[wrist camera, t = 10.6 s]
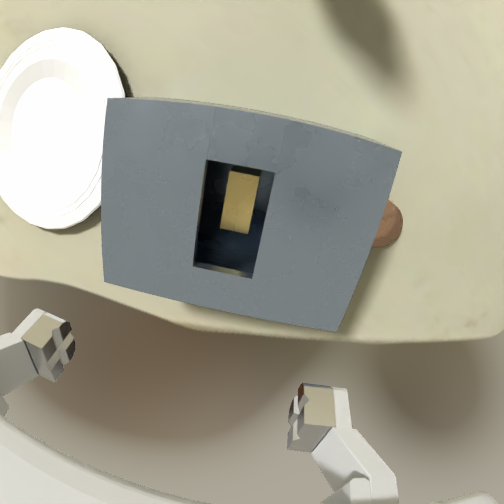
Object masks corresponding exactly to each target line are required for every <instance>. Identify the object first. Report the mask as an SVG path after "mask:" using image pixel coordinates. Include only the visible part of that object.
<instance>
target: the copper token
mask: <svg viewBox="0 0 504 504" xmlns="http://www.w3.org/2000/svg"><path fill="white" fill-rule="evenodd" d="M402 225H403V219H402V214H401V212H400V210H399V209H398V208H397V207H396V206H395V205H394V204H393V203H392V202H391V201H389V200H388V201H387V204H386V207H385V210H384V213H383V216H382V219H381V222H380V225H379V227H378V230H377V233H376V236H375V239H374V242H373V244H372V246H373V247H383V246H386V245H388V244H390V243H392V242H393V241H394V240H395V239H396V238H397V237H398V236H399V234H400V232H401V229H402Z"/></svg>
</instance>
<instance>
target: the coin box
mask: <svg viewBox="0 0 504 504" xmlns="http://www.w3.org/2000/svg"><path fill="white" fill-rule="evenodd" d="M401 153H402V152H401V151H399V150H397V149H394V148H392V147H390V146H387V145H385V144H382V143H380V142H377V141H375V140H372V139H370V138H367V137H364V136H361V135H358V134H355V133H351V132H348V131H344V130H341V129H337V128H333V127H330V126H326V125H322V124H318V123H314V122H310V121H306V120H301V119H297V118H292V117H288V116H283V115H278V114H274V113H268V112H263V111H258V110H252V109H247V108H241V107H234V106H228V105H221V104H214V103H206V102H198V101H189V100H180V99H169V98H146V97H129V98H107V106H106V115H105V125H104V137H103V152H102V173H101V234H102V255H103V270H104V282H107V283H111V284H114V285H118V286H122V287H125V288H129V289H133V290H137V291H140V292H144V293H148V294H152V295H156V296H160V297H164V298H168V299H172V300H177V301H181V302H185V303H189V304H194V305H198V306H202V307H207V308H211V309H216V310H220V311H225V312H230V313H234V314H239V315H244V316H249V317H254V318H259V319H264V320H270V321H275V322H280V323H286V324H291V325H297V326H302V327H308V328H314V329H320V330H326V331H333V332H337V330H338V328H339V325H340V323H341V321H342V319H343V316H344V314H345V312H346V310H347V307H348V305H349V303H350V300H351V298H352V295H353V293H354V291H355V288H356V286H357V283H358V281H359V278H360V276H361V273H362V271H363V268H364V266H365V263H366V260H367V258H368V255H369V252H370V250H371V247H372V244H373V242H374V239H375V236H376V233H377V230H378V227H379V225H380V222H381V219H382V216H383V213H384V210H385V207H386V204H387V201H388V197H389V194H390V191H391V188H392V185H393V181H394V178H395V175H396V171H397V168H398V164H399V161H400V157H401ZM234 165H240V166H245V167H251V168H256V169H261V170H262V174H261V178H260V183H259V188H258V193H257V198H256V202H255V207H254V212H253V216H252V220H251V224H250V228H249V232H248V234H245V233H240V232H235V231H231V230H226V229H221V228H220V224H221V218H222V212H223V206H224V200H225V194H226V189H227V183H228V177H229V172H230V170H231V168H232V167H233V166H234Z"/></svg>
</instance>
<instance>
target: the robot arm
mask: <svg viewBox="0 0 504 504" xmlns="http://www.w3.org/2000/svg"><path fill="white" fill-rule="evenodd" d="M71 330H72V328H71V325H70V322H67V321H65V320H63V319H61V318H58V317H56V316H54V315H52V314H49V313H47V312H45V311H42V310H40V309H35V310H33V311H32V312H31V313H30V315H28V317H26V319H25V320H24V321H23V322H22V323H21V324H20V325H19V326H18V327H17V328H16V329H15V331H14V332H13V333H12V334H11V333H6V334H4V335H1V336H0V504H208V503H204V502H199V501H195V500H190V499H186V498H182V497H178V496H175V495H171V494H167V493H164V492H160V491H157V490H154V489H151V488H148V487H145V486H141V485H139V484H136V483H133V482H130V481H127V480H124V479H122V478H119V477H116V476H114V475H111V474H109V473H106V472H104V471H102V470H99V469H97V468H95V467H92V466H90V465H88V464H86V463H84V462H81V461H79V460H77V459H75V458H73V457H71V456H69V455H67V454H65V453H63V452H61V451H59V450H57V449H55V448H54V447H52V446H50V445H48V444H46V443H45V442H42V441H41V440H39V439H38V438H36V437H34V436H32V435H31V434H29V433H27V432H26V431H24V430H23V429H21V428H20V427H18V426H16V425H15V424H13V423H12V422H10V421H9V420H7V419H6V418H4V415H5V414H6V412H7V411H8V409H9V406H8V404H7V402H6V401H5V399H4V398H3V396H4V395H5V394H7V393H9V392H11V391H12V390H14V389H16V388H18V387H19V386H21V385H23V384H25V383H26V382H28V381H30V380H32V379H33V378H35V377H37V376H38V375H41V376H43V377H45V378H47V379H49V380H51V381H53V382H56V381H57V379H58V378H59V376H60V375H61V374H62V372H63V371H64V368H63V365H64V364H66V363H68V362H70V360H71V359H72V357H73V355H74V352H75V340H74V338H73V336H72V335H71V334H70V331H71ZM288 422H289V424H290V425H291V429H290V430H289V432H288V441H287V449H288V450H295V451H303V452H312V453H311V454H312V456H313V458H314V459H315V461H316V463H317V464H318V466H319V468H320V469H321V471H322V473H323V475H324V476H325V478H326V480H327V481H328V483H329V485H330V486H331V488H332V490H333V491H334V493H333V494H332V495H331V496H329V497H328V498H326V499H325V500H324V501H322V502H321V503H320V504H399V499H398V491H397V483H396V476H395V474H394V473H393V472H392V471H391V470H390V468H388V466H387V465H386V464H385V463H384V462H383V460H382V459H381V458H380V457H379V456H378V454H377V453H376V452H375V451H374V449H373V448H372V447H371V446H370V445H369V443H368V442H367V441H366V440H365V439H364V437H363V436H362V435H361V434H360V433H359V431H358V430H357V429H353V428H352V421H351V413H350V405H349V399H348V391H347V389H346V388H338V387H330V386H323V385H314V384H306V383H302V384H301V385H300V387H299V389H298V395H297V396H295V397H294V399H293V401H292V403H291V406H290V411H289V420H288ZM431 504H499V503H497V502H496V501H495V500H494V499H493V498H492V497H491V496H490V495H488V494H487V493H486V492H484V491H478V492H474V493H470V494H467V495H463V496H460V497H456V498H452V499H448V500H444V501H440V502H436V503H431Z"/></svg>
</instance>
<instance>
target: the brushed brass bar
mask: <svg viewBox="0 0 504 504" xmlns="http://www.w3.org/2000/svg"><path fill="white" fill-rule="evenodd" d="M261 174H262V170H261V169H256V168H251V167H245V166H240V165H234V166H233V167H232V168H231V170H230V172H229V177H228V183H227V189H226V194H225V200H224V206H223V212H222V218H221V224H220V228H221V229H226V230H231V231H235V232H240V233H245V234H248V232H249V228H250V224H251V220H252V216H253V212H254V207H255V202H256V198H257V193H258V188H259V183H260V178H261Z"/></svg>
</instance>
